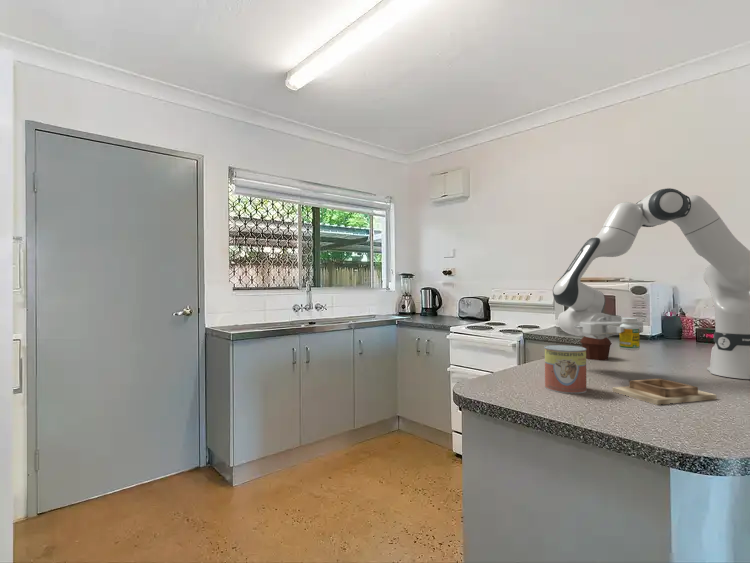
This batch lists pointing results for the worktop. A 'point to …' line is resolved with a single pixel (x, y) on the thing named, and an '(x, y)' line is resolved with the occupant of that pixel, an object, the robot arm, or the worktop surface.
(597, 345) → the muffin
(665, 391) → the wooden tray
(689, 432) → the worktop surface
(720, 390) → the worktop surface
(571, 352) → the canned food
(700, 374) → the worktop surface
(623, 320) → the supplement bottle
